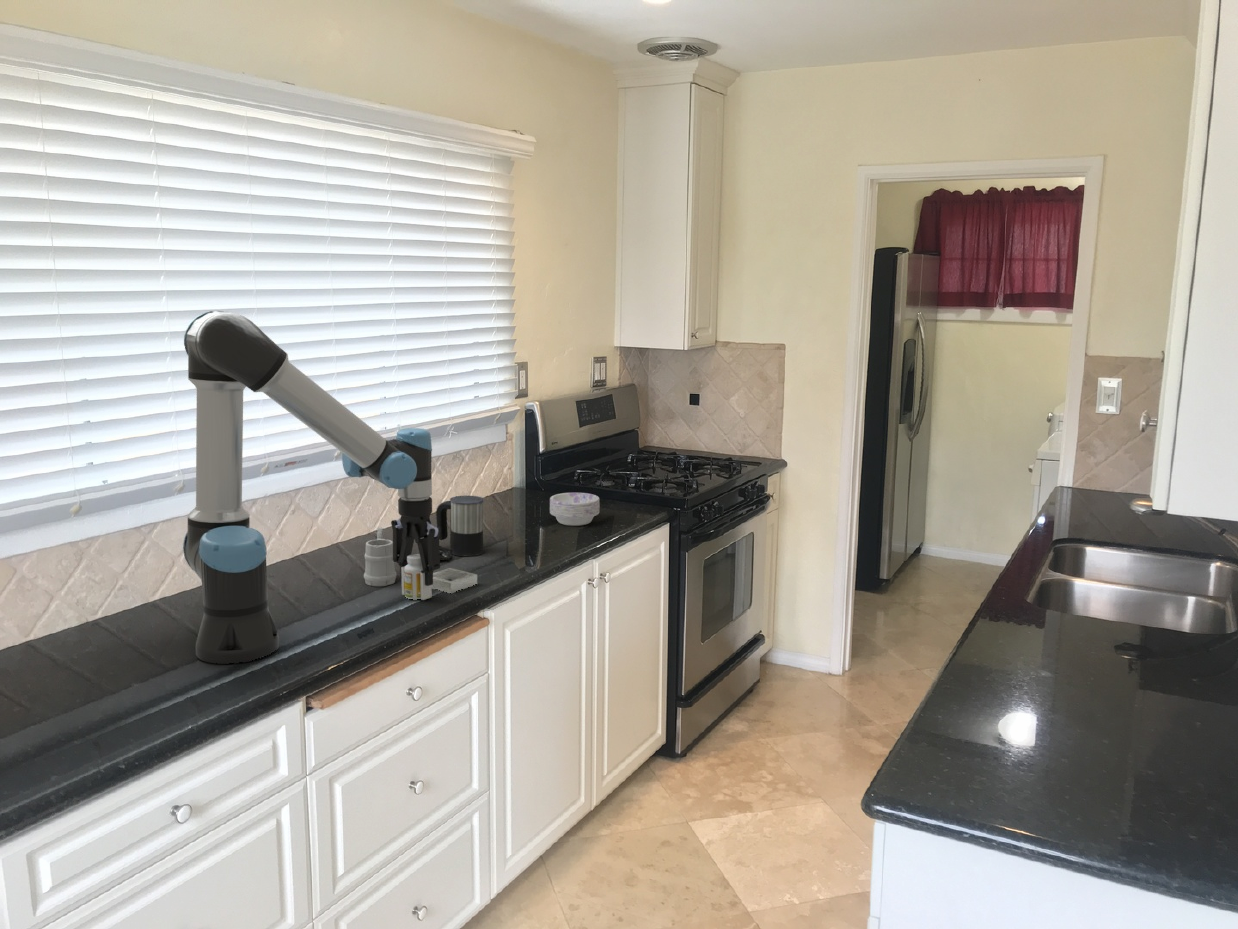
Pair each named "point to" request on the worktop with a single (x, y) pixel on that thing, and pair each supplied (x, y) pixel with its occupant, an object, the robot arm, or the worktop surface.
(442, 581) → the square picture frame
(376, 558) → the mug
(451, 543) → the milk frother
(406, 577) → the supplement bottle
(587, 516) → the paper bowls
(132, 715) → the worktop surface
